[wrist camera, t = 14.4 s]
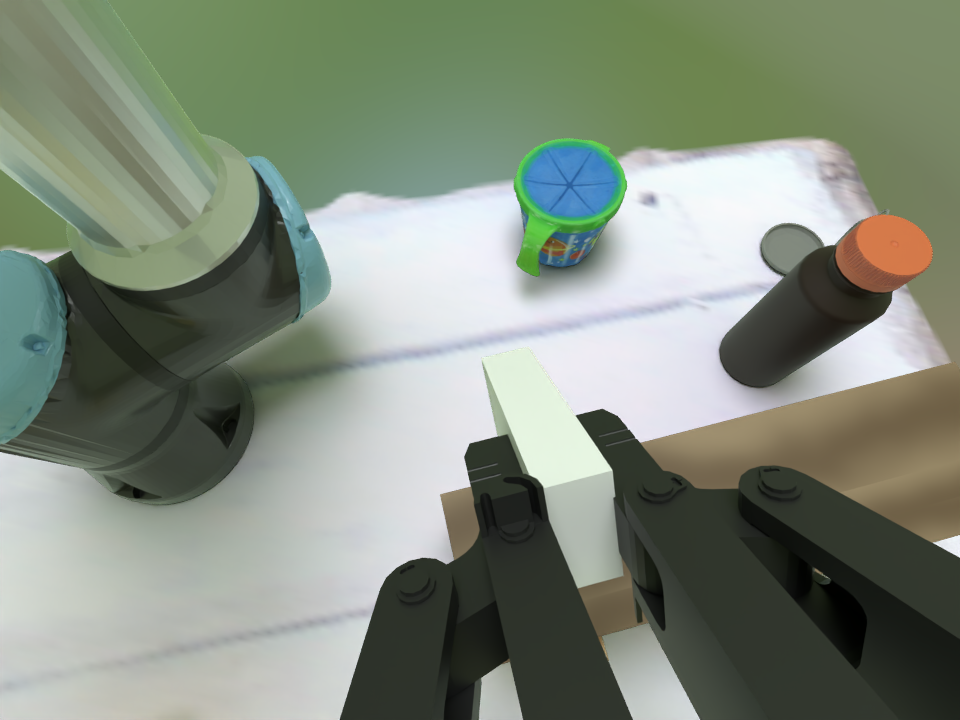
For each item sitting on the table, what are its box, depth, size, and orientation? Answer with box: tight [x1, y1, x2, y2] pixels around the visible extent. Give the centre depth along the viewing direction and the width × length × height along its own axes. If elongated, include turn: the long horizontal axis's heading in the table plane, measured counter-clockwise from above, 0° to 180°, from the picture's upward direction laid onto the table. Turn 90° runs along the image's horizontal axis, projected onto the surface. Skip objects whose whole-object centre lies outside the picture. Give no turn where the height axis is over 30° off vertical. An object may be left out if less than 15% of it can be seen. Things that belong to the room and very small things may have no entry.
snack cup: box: [514, 139, 627, 276], centre depth 53 cm, size 16×10×10 cm
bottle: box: [720, 215, 933, 387], centre depth 43 cm, size 7×7×20 cm
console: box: [440, 362, 960, 664], centre depth 39 cm, size 10×36×16 cm, turn 104°
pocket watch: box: [761, 209, 890, 275], centre depth 52 cm, size 8×8×10 cm
